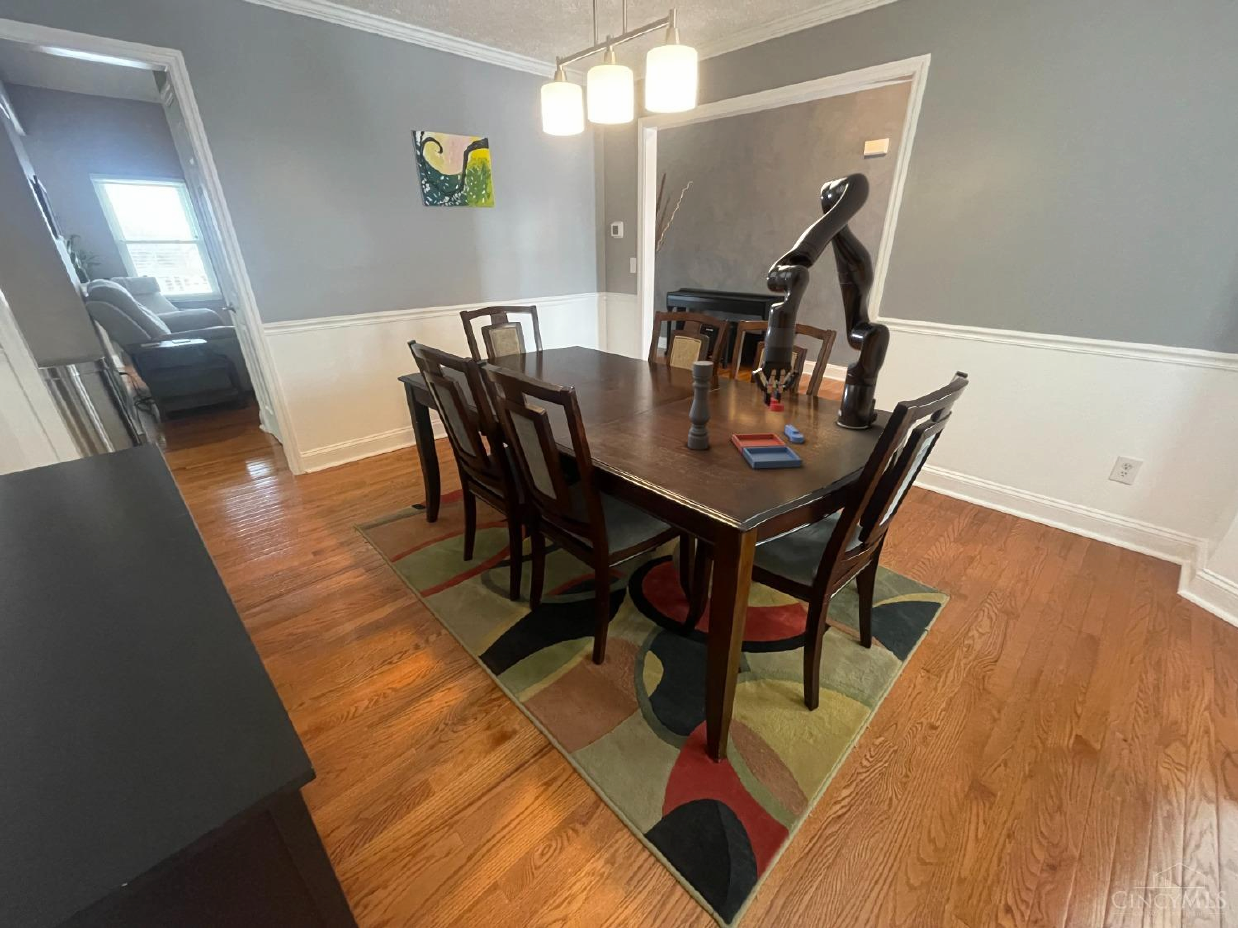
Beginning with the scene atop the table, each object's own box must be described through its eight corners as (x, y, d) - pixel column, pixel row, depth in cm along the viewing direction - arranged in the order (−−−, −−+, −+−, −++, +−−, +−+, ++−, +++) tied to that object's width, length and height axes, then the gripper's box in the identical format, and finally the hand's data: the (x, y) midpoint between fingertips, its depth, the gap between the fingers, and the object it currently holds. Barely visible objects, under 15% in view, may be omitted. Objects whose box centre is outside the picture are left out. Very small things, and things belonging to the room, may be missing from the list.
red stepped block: (760, 406, 143) (761, 397, 142) (773, 406, 143) (774, 397, 143) (772, 412, 134) (773, 402, 133) (786, 411, 134) (787, 402, 134)
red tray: (773, 439, 152) (774, 433, 151) (786, 451, 143) (786, 445, 142) (731, 440, 152) (732, 434, 151) (741, 452, 142) (742, 446, 141)
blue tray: (787, 452, 142) (787, 446, 141) (801, 466, 133) (802, 460, 132) (742, 454, 142) (742, 447, 141) (753, 468, 132) (754, 461, 131)
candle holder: (709, 443, 149) (715, 361, 139) (706, 450, 144) (712, 366, 134) (689, 441, 151) (694, 360, 141) (685, 448, 146) (689, 364, 136)
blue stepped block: (781, 432, 157) (782, 425, 156) (793, 432, 158) (794, 424, 157) (792, 443, 149) (794, 435, 148) (805, 442, 149) (806, 434, 148)
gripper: (759, 346, 129) (752, 409, 136) (809, 345, 130) (800, 408, 137) (750, 341, 136) (743, 402, 143) (798, 341, 137) (789, 401, 144)
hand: (771, 404), depth 140 cm, fingers closed on red stepped block, 2 cm apart
